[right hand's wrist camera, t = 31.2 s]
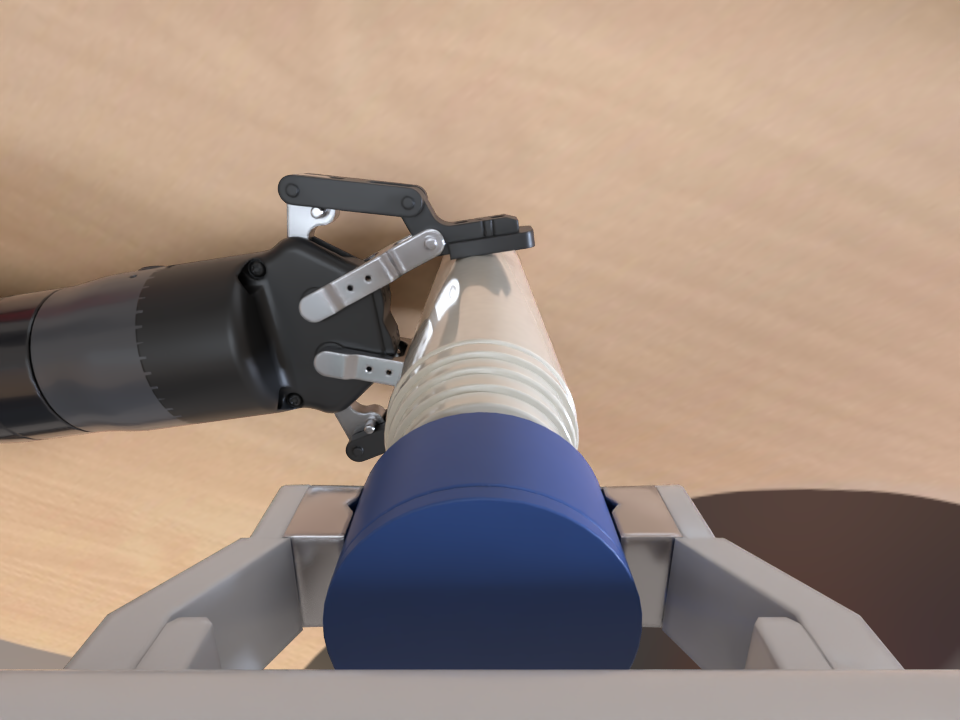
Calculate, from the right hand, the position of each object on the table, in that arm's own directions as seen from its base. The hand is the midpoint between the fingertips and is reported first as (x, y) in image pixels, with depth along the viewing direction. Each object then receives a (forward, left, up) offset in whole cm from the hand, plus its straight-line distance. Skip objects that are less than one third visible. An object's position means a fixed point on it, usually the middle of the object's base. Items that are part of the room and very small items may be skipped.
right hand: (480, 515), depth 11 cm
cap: (0, 0, 0) cm, 0 cm away
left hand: (-3, -1, -16) cm, 16 cm away
